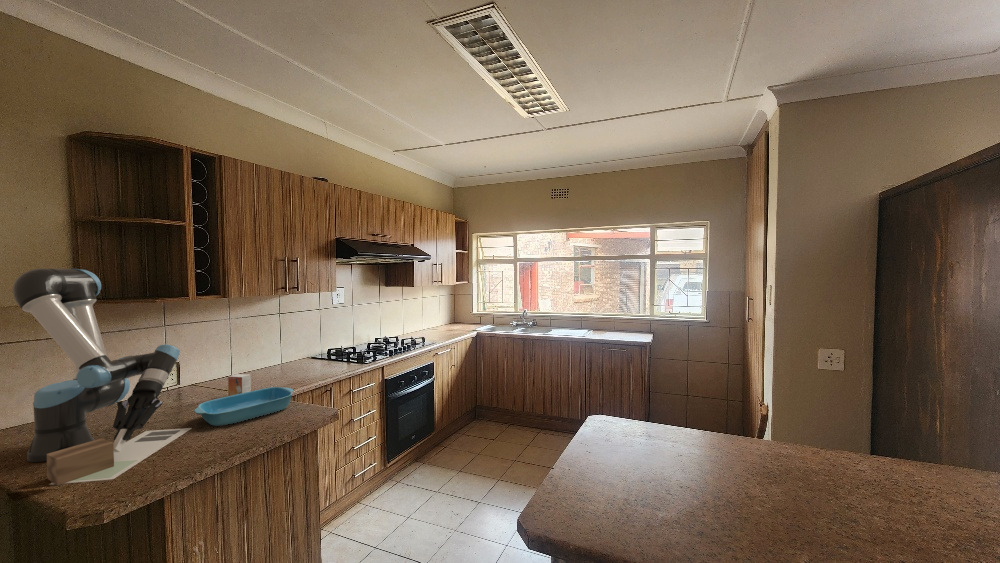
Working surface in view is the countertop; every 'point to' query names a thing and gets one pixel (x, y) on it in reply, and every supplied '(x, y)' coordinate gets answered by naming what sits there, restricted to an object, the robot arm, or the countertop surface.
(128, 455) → the board
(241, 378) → the small box
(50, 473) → the walnut block
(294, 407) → the countertop surface
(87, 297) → the robot arm
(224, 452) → the countertop surface
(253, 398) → the casserole dish
